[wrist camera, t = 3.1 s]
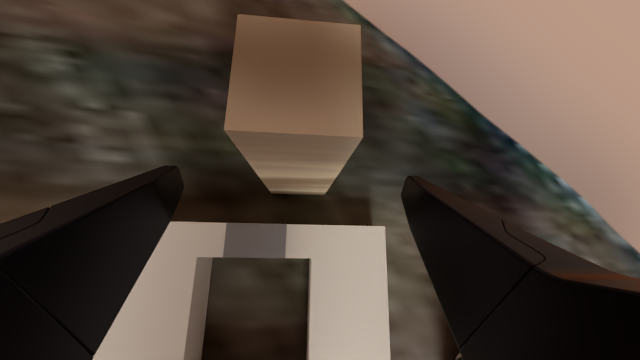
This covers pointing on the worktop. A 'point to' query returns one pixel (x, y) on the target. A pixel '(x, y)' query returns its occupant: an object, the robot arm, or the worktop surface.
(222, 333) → the worktop surface
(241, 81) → the block
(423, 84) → the worktop surface
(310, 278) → the white flat frame
